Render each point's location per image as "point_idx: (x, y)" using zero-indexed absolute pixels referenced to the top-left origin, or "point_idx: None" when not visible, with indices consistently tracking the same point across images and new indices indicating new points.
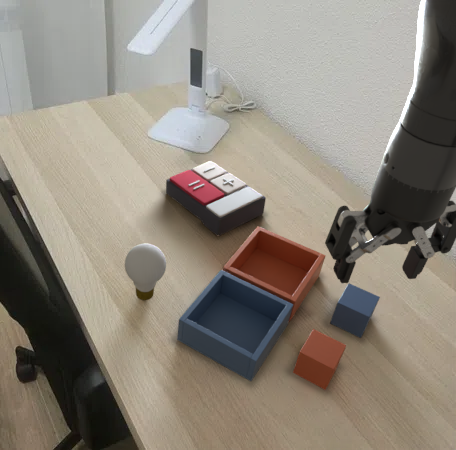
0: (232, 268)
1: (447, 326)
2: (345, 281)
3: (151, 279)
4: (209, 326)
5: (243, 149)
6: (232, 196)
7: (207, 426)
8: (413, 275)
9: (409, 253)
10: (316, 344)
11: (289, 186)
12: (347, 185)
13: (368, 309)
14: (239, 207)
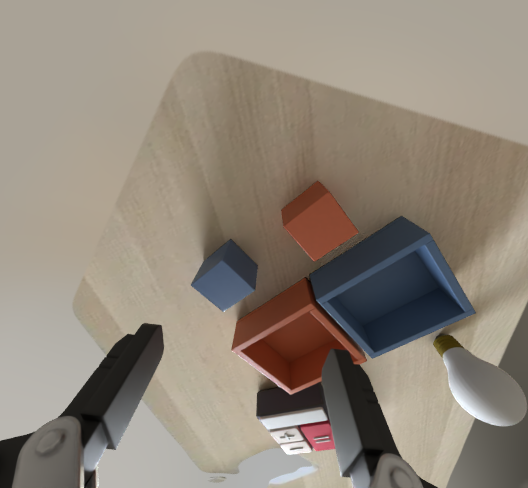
0: (357, 357)
1: (108, 228)
2: (345, 356)
3: (494, 372)
4: (402, 292)
5: (238, 446)
6: (293, 424)
7: (499, 169)
8: (146, 336)
9: (132, 412)
10: (327, 237)
11: (213, 410)
12: (152, 401)
13: (217, 271)
14: (293, 413)
